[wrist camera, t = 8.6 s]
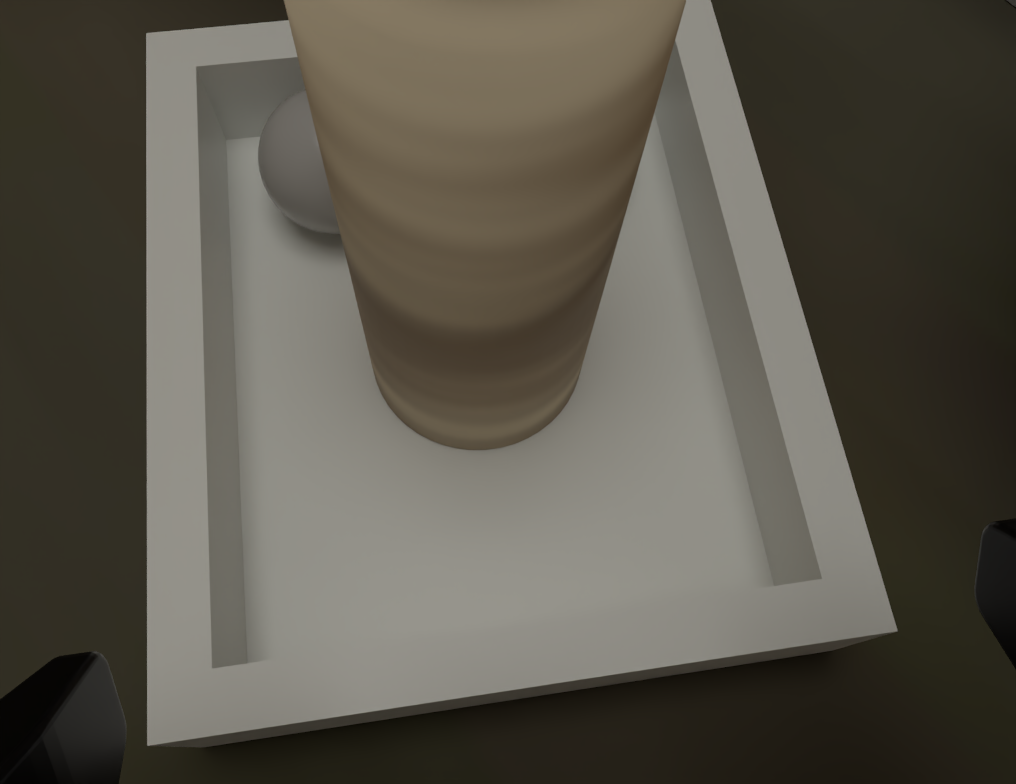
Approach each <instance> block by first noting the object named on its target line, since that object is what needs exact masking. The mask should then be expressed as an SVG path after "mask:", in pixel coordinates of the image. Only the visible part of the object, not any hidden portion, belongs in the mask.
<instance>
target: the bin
mask: <svg viewBox="0 0 1016 784" xmlns="http://www.w3.org/2000/svg"><path fill="white" fill-rule="evenodd" d="M304 89H305V86H304V82H303V77H302V73H301V69H300V65H299V61H298V57H297V52H296V48H295V44H294V40H293V36H292V32H291V28H290V23H289V20H287V21H276V22H264V23H253V24H242V25H231V26H220V27H209V28H198V29H187V30H176V31H165V32H154V33H146V181H147V746H169V747H201V748H203V747H210V746H216V745H223V744H229V743H236V742H242V741H249V740H255V739H262V738H268V737H275V736H281V735H288V734H294V733H301V732H307V731H314V730H320V729H327V728H333V727H340V726H346V725H353V724H359V723H366V722H372V721H379V720H385V719H392V718H398V717H405V716H411V715H418V714H424V713H431V712H437V711H444V710H450V709H457V708H463V707H470V706H476V705H483V704H489V703H496V702H502V701H509V700H515V699H522V698H528V697H535V696H541V695H548V694H554V693H561V692H567V691H574V690H580V689H587V688H594V687H600V686H607V685H613V684H620V683H626V682H633V681H639V680H646V679H652V678H659V677H665V676H672V675H678V674H685V673H691V672H698V671H704V670H711V669H717V668H724V667H730V666H737V665H743V664H750V663H756V662H763V661H769V660H776V659H782V658H789V657H795V656H802V655H808V654H815V653H821V652H828V651H833V650H836V649H840V648H843V647H846V646H850V645H853V644H856V643H860V642H863V641H866V640H870V639H873V638H876V637H880V636H883V635H887V634H890V633H893V632H897V627H896V624H895V621H894V617H893V614H892V610H891V607H890V604H889V600H888V597H887V594H886V590H885V587H884V583H883V580H882V577H881V573H880V570H879V567H878V563H877V560H876V556H875V553H874V550H873V546H872V543H871V540H870V536H869V533H868V529H867V526H866V523H865V519H864V516H863V513H862V509H861V506H860V503H859V499H858V496H857V492H856V489H855V486H854V482H853V479H852V476H851V472H850V469H849V465H848V462H847V459H846V455H845V452H844V449H843V445H842V442H841V438H840V435H839V432H838V428H837V425H836V422H835V418H834V415H833V412H832V408H831V405H830V401H829V398H828V395H827V391H826V388H825V385H824V381H823V378H822V374H821V371H820V368H819V364H818V361H817V358H816V354H815V351H814V347H813V344H812V341H811V337H810V334H809V331H808V327H807V324H806V321H805V317H804V314H803V310H802V307H801V304H800V300H799V297H798V294H797V290H796V287H795V283H794V280H793V277H792V273H791V270H790V267H789V263H788V260H787V256H786V253H785V250H784V246H783V243H782V240H781V236H780V233H779V230H778V226H777V223H776V219H775V216H774V213H773V209H772V206H771V203H770V199H769V196H768V192H767V189H766V186H765V182H764V179H763V176H762V172H761V169H760V165H759V162H758V159H757V155H756V152H755V149H754V145H753V142H752V139H751V135H750V132H749V128H748V125H747V122H746V118H745V115H744V112H743V108H742V105H741V101H740V98H739V95H738V91H737V88H736V85H735V81H734V78H733V74H732V71H731V68H730V64H729V61H728V58H727V54H726V51H725V48H724V44H723V41H722V37H721V34H720V31H719V27H718V24H717V21H716V17H715V14H714V10H713V7H712V4H711V0H686V4H685V7H684V11H683V14H682V18H681V21H680V25H679V28H678V32H677V35H676V39H675V42H674V46H673V49H672V53H671V56H670V60H669V63H668V67H667V70H666V74H665V77H664V81H663V84H662V88H661V91H660V95H659V98H658V102H657V105H656V109H655V112H654V116H653V119H652V123H651V126H650V130H649V133H648V137H647V140H646V144H645V147H644V151H643V154H642V158H641V161H640V165H639V168H638V172H637V175H636V179H635V182H634V186H633V189H632V193H631V196H630V200H629V203H628V207H627V210H626V214H625V217H624V221H623V224H622V228H621V231H620V235H619V238H618V242H617V245H616V249H615V252H614V256H613V259H612V263H611V266H610V270H609V273H608V277H607V280H606V284H605V287H604V291H603V294H602V298H601V301H600V305H599V308H598V312H597V315H596V319H595V322H594V326H593V329H592V333H591V336H590V340H589V343H588V347H587V350H586V354H585V357H584V361H583V364H582V368H581V371H580V375H579V378H578V381H577V384H576V387H575V389H574V392H573V394H572V396H571V397H570V399H569V401H568V403H567V404H566V406H565V407H564V408H563V410H562V411H561V412H560V414H559V415H558V416H557V417H556V418H555V419H554V420H553V421H552V422H551V423H550V424H548V425H547V426H546V427H545V428H543V429H542V430H541V431H539V432H538V433H536V434H534V435H532V436H531V437H529V438H527V439H525V440H522V441H520V442H518V443H515V444H512V445H509V446H505V447H501V448H495V449H488V450H468V449H458V448H454V447H450V446H445V445H442V444H440V443H437V442H434V441H431V440H429V439H427V438H426V437H424V436H422V435H420V434H418V433H417V432H415V431H414V430H412V429H411V428H410V427H408V426H407V425H406V424H405V423H404V422H402V421H401V420H400V419H399V418H398V417H397V416H396V415H395V413H394V412H393V411H392V410H391V408H390V407H389V406H388V404H387V403H386V401H385V399H384V398H383V396H382V394H381V392H380V390H379V387H378V385H377V383H376V379H375V375H374V372H373V368H372V363H371V359H370V355H369V351H368V347H367V343H366V339H365V334H364V330H363V326H362V322H361V318H360V314H359V309H358V305H357V301H356V297H355V293H354V289H353V285H352V280H351V276H350V272H349V268H348V264H347V260H346V256H345V251H344V247H343V243H342V239H341V235H340V234H326V233H320V232H316V231H313V230H310V229H307V228H305V227H303V226H300V225H298V224H297V223H295V222H293V221H292V220H291V219H289V218H288V217H287V216H286V215H284V214H283V213H282V212H281V211H280V210H279V209H278V208H277V206H276V205H275V204H274V203H273V201H272V200H271V198H270V197H269V195H268V193H267V191H266V189H265V187H264V185H263V182H262V179H261V176H260V172H259V166H258V147H259V141H260V136H261V133H262V130H263V128H264V126H265V124H266V122H267V120H268V118H269V117H270V115H271V114H272V112H273V111H274V110H275V109H276V108H277V107H278V106H279V105H280V104H281V103H282V102H283V101H284V100H285V99H287V98H288V97H290V96H291V95H293V94H295V93H297V92H299V91H301V90H304Z"/></svg>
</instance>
